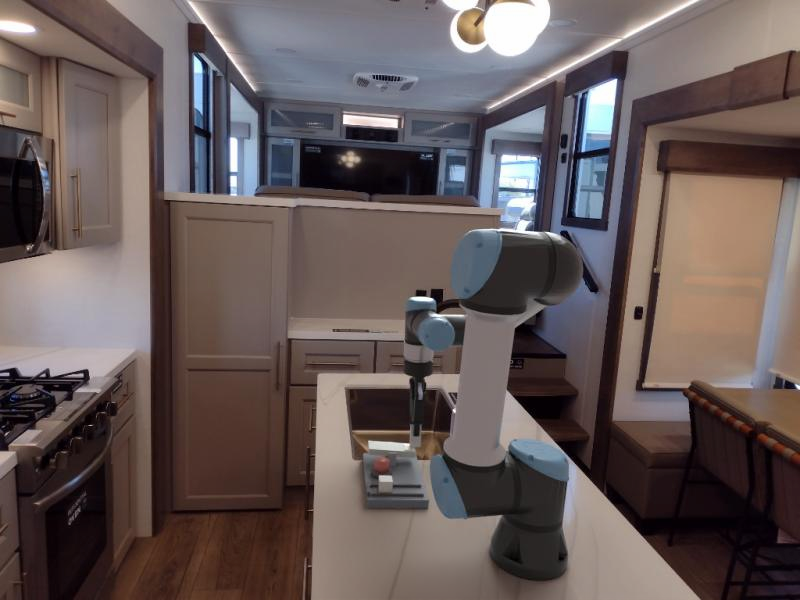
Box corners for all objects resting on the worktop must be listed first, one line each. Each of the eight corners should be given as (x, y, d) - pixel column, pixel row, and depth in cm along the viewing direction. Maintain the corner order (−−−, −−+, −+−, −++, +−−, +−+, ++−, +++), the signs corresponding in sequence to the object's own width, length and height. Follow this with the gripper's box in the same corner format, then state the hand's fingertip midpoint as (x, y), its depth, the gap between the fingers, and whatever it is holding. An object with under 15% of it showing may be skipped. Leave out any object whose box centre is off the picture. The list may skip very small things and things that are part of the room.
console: (428, 508, 131) (430, 485, 130) (366, 508, 130) (367, 485, 129) (415, 460, 155) (416, 441, 154) (362, 460, 153) (363, 440, 152)
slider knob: (392, 493, 133) (392, 481, 132) (378, 493, 132) (379, 481, 132) (390, 487, 136) (391, 475, 135) (378, 487, 135) (378, 475, 135)
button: (389, 473, 140) (390, 463, 140) (374, 473, 140) (375, 463, 139) (388, 466, 144) (388, 457, 143) (373, 466, 143) (374, 457, 143)
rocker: (415, 458, 148) (416, 451, 148) (368, 454, 146) (369, 448, 146) (412, 449, 153) (413, 443, 152) (367, 446, 151) (368, 440, 151)
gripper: (437, 366, 140) (433, 457, 144) (429, 351, 153) (425, 435, 157) (406, 366, 139) (403, 457, 143) (401, 351, 152) (398, 435, 156)
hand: (415, 445), depth 150 cm, fingers closed
